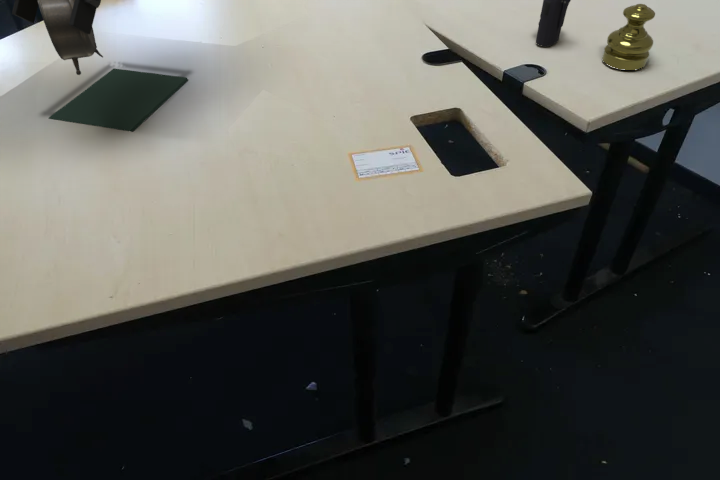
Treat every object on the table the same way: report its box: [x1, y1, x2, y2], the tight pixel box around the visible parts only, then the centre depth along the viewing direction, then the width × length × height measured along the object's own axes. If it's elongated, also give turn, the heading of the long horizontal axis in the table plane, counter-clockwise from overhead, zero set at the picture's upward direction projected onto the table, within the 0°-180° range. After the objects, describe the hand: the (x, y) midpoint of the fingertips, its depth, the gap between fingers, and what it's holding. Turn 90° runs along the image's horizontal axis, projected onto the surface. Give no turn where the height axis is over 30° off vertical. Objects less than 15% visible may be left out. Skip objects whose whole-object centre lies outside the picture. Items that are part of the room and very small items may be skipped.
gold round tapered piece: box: [601, 3, 656, 71], centre depth 92 cm, size 7×7×10 cm
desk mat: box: [48, 68, 189, 133], centre depth 93 cm, size 16×18×1 cm
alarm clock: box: [38, 0, 104, 76], centre depth 71 cm, size 11×5×16 cm, turn 21°
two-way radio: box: [535, 0, 572, 47], centre depth 97 cm, size 6×4×15 cm
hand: (50, 24), depth 71 cm, fingers closed on alarm clock, 10 cm apart
